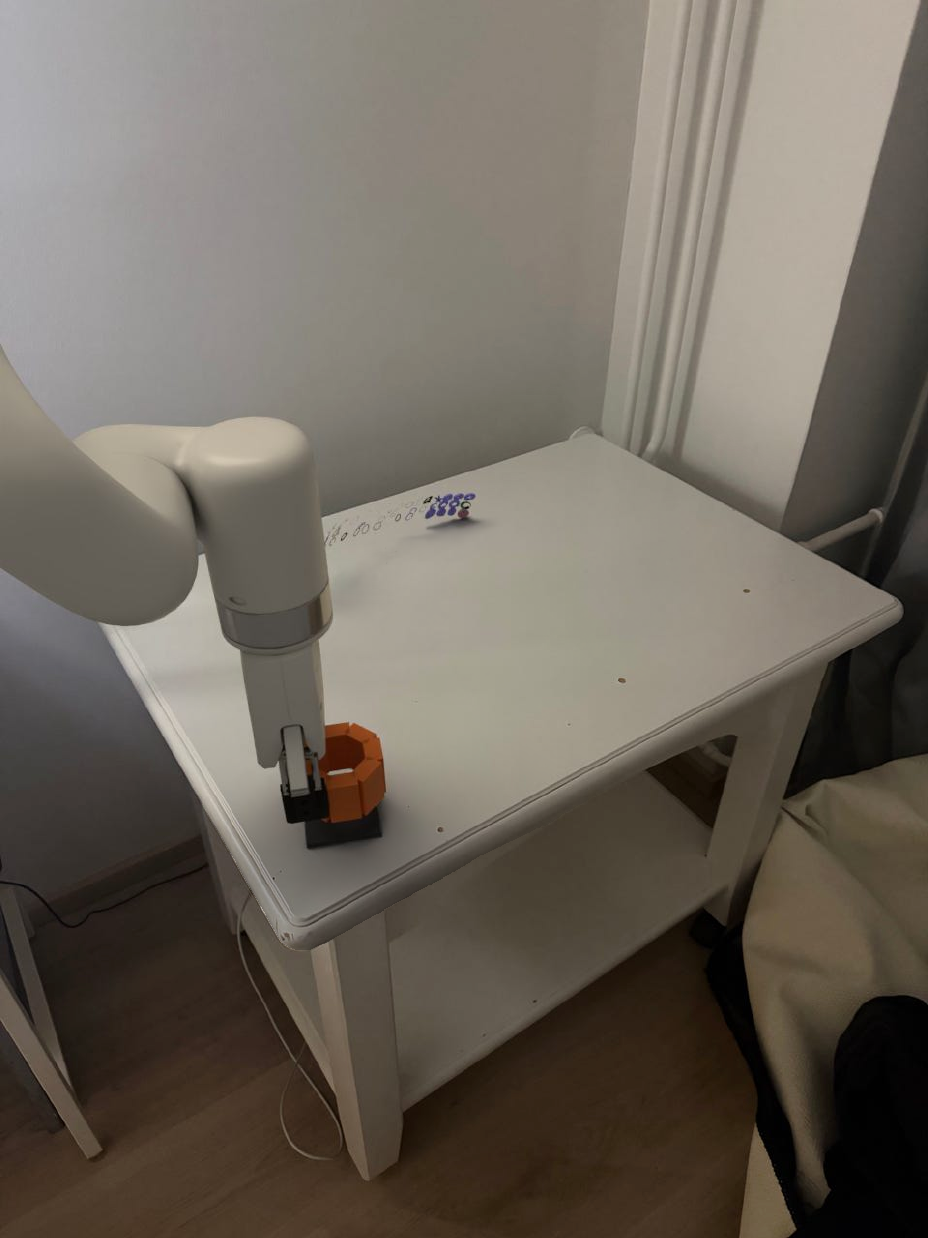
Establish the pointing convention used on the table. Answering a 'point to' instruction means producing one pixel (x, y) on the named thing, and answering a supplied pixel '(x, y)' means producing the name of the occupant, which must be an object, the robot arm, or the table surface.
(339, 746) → the orange octagonal tube
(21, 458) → the robot arm
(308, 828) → the mat
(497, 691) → the table surface
